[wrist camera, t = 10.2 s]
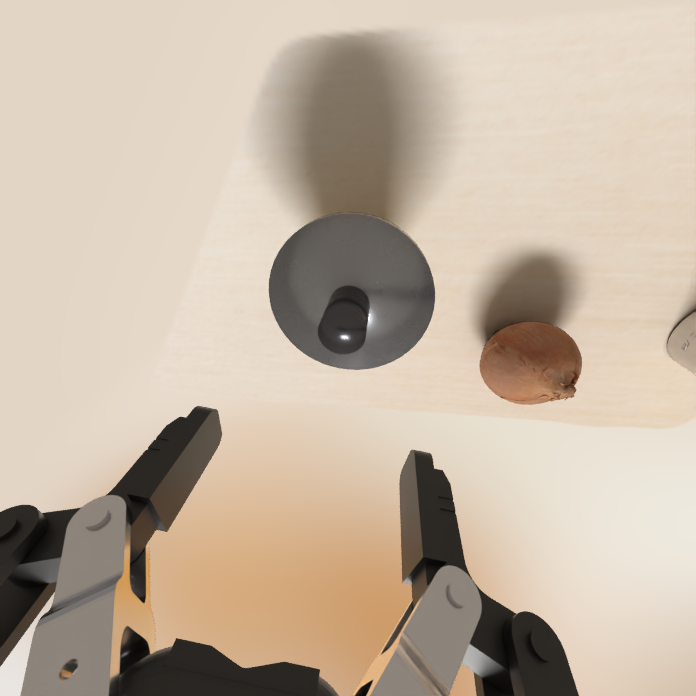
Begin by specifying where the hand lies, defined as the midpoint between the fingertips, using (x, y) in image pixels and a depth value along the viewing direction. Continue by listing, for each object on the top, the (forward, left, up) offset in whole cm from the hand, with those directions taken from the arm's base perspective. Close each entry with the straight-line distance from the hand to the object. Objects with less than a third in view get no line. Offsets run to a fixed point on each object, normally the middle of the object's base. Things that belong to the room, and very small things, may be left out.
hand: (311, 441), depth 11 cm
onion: (-20, +6, -24) cm, 32 cm away
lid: (0, 0, -14) cm, 14 cm away
